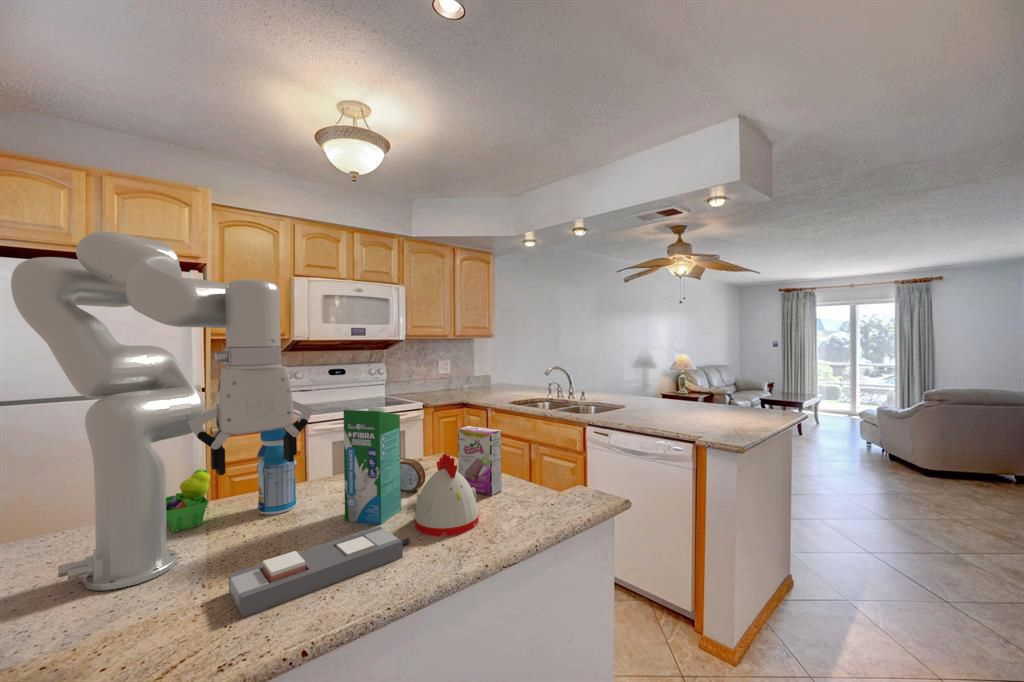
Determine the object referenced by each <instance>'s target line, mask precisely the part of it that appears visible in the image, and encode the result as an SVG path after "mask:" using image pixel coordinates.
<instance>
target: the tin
mask: <svg viewBox="0 0 1024 682" xmlns="http://www.w3.org/2000/svg"><path fill="white" fill-rule="evenodd" d="M400 475H401V492H408V493H413V492H415V491H417V490H418V489H421V488H422V487H424V485H425V482H426V470H425V469H424V467H423V465H422V464H421V463H420V462H419V461H418V460H416V459H412V458H405V457H400Z"/></svg>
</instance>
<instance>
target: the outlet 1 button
mask: <svg viewBox="0 0 1024 682" xmlns="http://www.w3.org/2000/svg"><path fill="white" fill-rule="evenodd" d="M262 564H263V573H264V575H265V576H266V578H267V579H268V581H269V582H270V583H271V582H274V581H277V580H280V579H283V578H286V577H289V576H292V575H294V574H297V573H300V572H303V571H305V560H304V559H303V558H302V557H301V556H300V555H299V554H298V551H296V550H293V551H290V552H287V553H285V554H281V555H277V556H275V557H272V558H271V557H270V558H268V559H265V560H262Z"/></svg>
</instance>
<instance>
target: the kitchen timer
mask: <svg viewBox="0 0 1024 682" xmlns="http://www.w3.org/2000/svg"><path fill="white" fill-rule="evenodd" d="M438 459H439V460H437V461H436V467H437V471H436V472H435V473H434V474H432V475H431V476H430V477H429V479H428V480H427V481H426V483H424V485H423V488H422V489H421V492H420V493H418V494H416V507H415V514H414V528H415V529H416V530H417V531H418V532H419V533H421V534H423V535H427V536H432V537H450V536H457V535H460V534H463V533H464V534H465V533H468V532H469V531H471V530H473V529H475V528H476V526H477V525H478V524H479V520H480V519H479V508H478V504H477V502H476V501H477V499H478V493H476V490H475V488H474V487H472V488H471V487H470V485H469V483H468V482H467V480H466V479H465V478H464V477H463V476H462V475H461V474H460V473H459V471H458V464H455V457H451V455H448V453H443V454H442V456H441V457H439V458H438Z"/></svg>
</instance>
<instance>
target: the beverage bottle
mask: <svg viewBox="0 0 1024 682" xmlns="http://www.w3.org/2000/svg"><path fill="white" fill-rule="evenodd" d="M259 433H260V441H261V443H263V444H262V445H261V447H260V448H259V450H258V452H257V455H256V458H257V459H258V463H257V465H256V471H257V480H258V481H257V489H258V490H257V491H258V493H257V495H258V500H257V501H258V503H257V511H258V513H260V514H261V515H262V514H263V515H270V516H271V515H278V514H282V513H286V512H288V511H291V510H292V509H294V508H295V507H296V505H297V497H296V496H297V495H296V493H297V490H296V489H297V487H296V486H297V485H296V479H297V477H296V472H297V471H296V469H297V459H296V458H295V456H296V455H294V462H288V461H287V460H285V459H284V454H283V437H284V435H286V432H285V431H284V430H283V429H276V430H269V431H262V432H259Z"/></svg>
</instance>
